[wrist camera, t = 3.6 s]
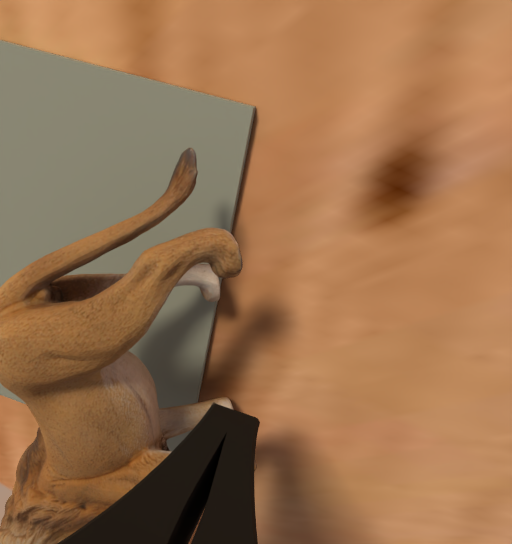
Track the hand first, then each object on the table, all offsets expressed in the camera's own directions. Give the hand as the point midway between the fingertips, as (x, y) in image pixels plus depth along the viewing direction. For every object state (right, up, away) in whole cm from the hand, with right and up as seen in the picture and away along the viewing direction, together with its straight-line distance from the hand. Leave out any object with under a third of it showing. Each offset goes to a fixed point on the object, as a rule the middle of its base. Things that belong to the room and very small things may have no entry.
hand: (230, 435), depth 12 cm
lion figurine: (0, +1, +2) cm, 3 cm away
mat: (-7, +4, +5) cm, 10 cm away
